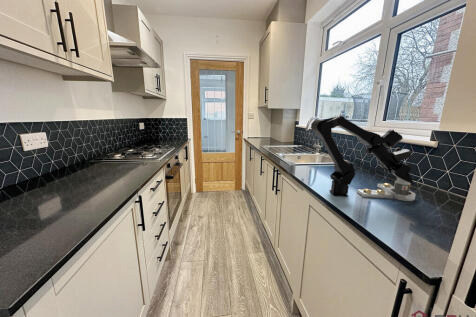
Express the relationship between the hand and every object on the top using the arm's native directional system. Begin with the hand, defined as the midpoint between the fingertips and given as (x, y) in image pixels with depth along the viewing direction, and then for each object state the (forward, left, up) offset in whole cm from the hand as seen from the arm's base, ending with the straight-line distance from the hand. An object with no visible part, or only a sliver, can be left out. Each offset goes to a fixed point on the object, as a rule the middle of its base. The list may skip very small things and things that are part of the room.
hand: (406, 179), depth 89 cm
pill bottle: (-1, 0, -9) cm, 9 cm away
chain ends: (-8, +4, -9) cm, 12 cm away
